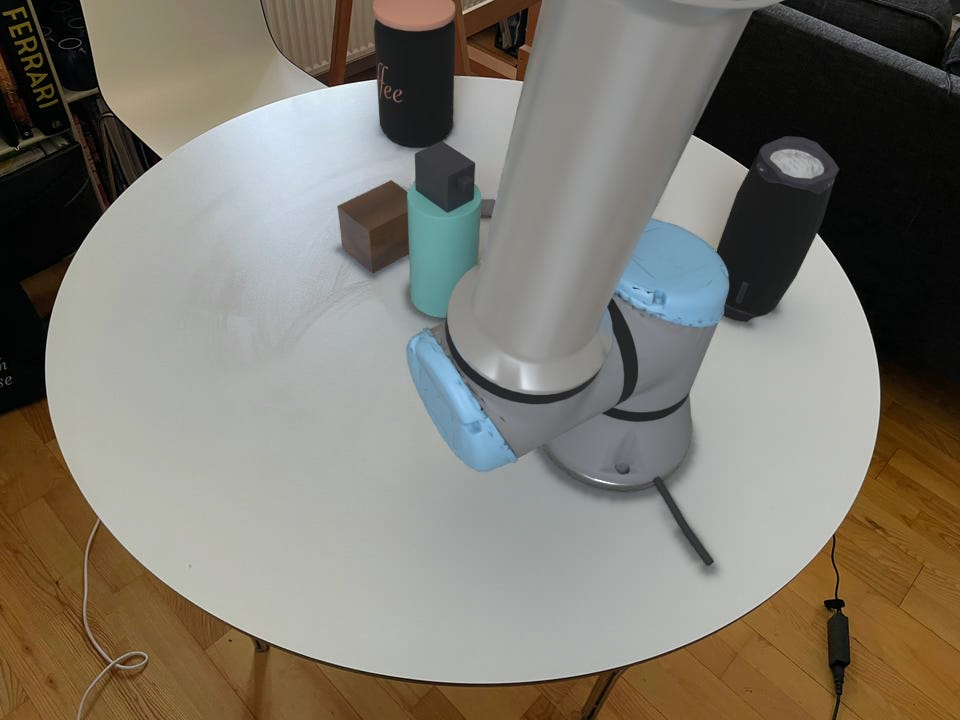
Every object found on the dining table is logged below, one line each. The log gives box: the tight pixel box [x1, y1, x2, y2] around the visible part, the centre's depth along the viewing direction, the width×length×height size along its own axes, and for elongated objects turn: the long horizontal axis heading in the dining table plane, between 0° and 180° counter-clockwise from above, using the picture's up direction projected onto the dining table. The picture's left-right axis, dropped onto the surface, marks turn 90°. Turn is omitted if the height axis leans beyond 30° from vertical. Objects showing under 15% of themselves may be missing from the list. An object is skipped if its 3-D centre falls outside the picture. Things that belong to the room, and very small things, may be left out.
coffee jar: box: [372, 0, 456, 149], centre depth 104 cm, size 11×11×18 cm
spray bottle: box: [407, 140, 483, 319], centre depth 81 cm, size 15×8×19 cm, turn 43°
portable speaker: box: [715, 135, 840, 323], centre depth 82 cm, size 9×9×20 cm
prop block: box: [337, 179, 409, 274], centre depth 91 cm, size 6×8×6 cm
